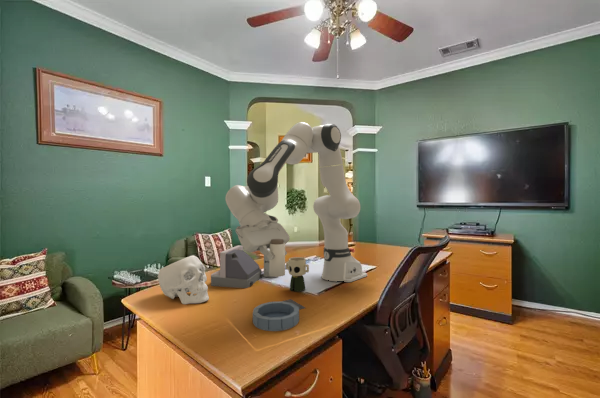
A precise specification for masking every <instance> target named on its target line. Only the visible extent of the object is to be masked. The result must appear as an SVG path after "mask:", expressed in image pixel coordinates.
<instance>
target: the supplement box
mask: <svg viewBox="0 0 600 398" xmlns="http://www.w3.org/2000/svg"><path fill="white" fill-rule="evenodd" d="M268 250H269V251H270V248H268ZM264 277H265V278H266V277H267V278H269V277H270V278H274V277H273V276H270V275H269V259H268V258H267V256H265V255H264V254H263V278H264Z"/></svg>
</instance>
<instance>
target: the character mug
mask: <svg viewBox="0 0 600 398" xmlns="http://www.w3.org/2000/svg"><path fill="white" fill-rule="evenodd" d="M285 270H287V271H288V273H289V275H290V276H291V277H290V283H289V290H290V291H291V292H292V291H294V292H302V291H304V290H305V289H306V283H305V278H304V275H306V273H307V274H308V273H309V272H310V265H309V264H307V258H305V257H304V256H303V257H302V256H294V257H289V258H288V261H285Z"/></svg>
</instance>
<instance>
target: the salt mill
mask: <svg viewBox="0 0 600 398" xmlns="http://www.w3.org/2000/svg"><path fill="white" fill-rule="evenodd" d="M269 249H270V252H273V253H274V255H275V258H274V259H272V260H269V275H270V276H273V277H272V278H280V277H283V276H286V255H285V250H286V244H285V243H284V240H283V239H272V240H271V244H270V248H269Z"/></svg>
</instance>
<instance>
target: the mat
mask: <svg viewBox="0 0 600 398" xmlns="http://www.w3.org/2000/svg"><path fill="white" fill-rule="evenodd" d="M282 302H289V303H293V304H295V305H296V306H298V307H299V311H300V310H303V309H306V306H303V305H302V304H300V303H299V302H296V301H295V300H293V299H292V298H290V299H285V300H282Z"/></svg>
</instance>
